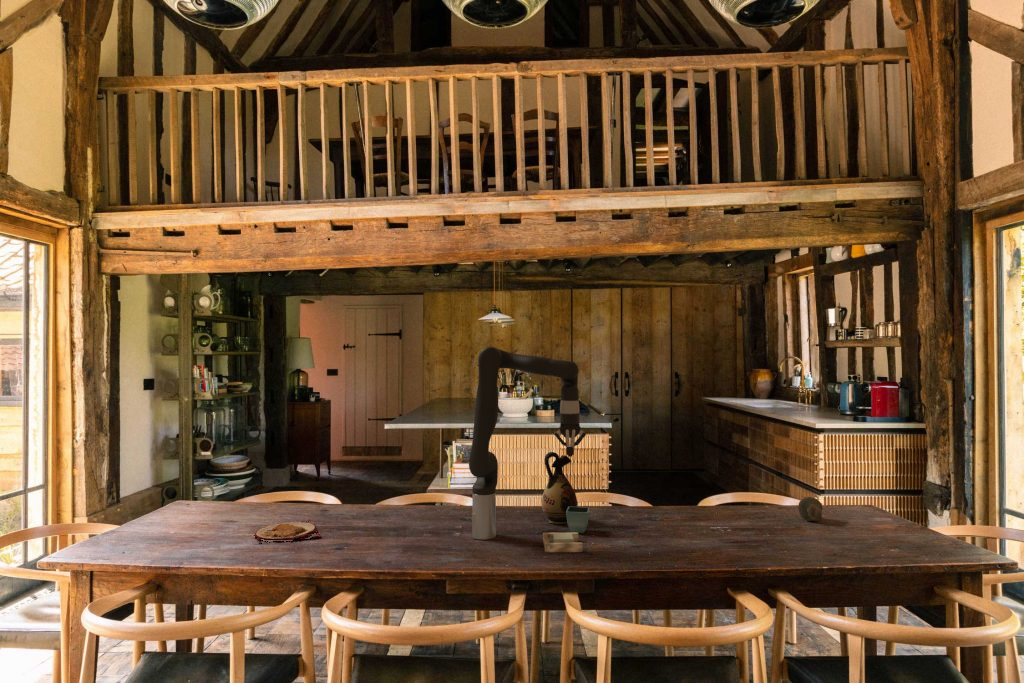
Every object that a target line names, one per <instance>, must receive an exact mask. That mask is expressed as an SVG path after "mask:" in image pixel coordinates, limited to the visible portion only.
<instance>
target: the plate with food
mask: <svg viewBox="0 0 1024 683" xmlns="http://www.w3.org/2000/svg"><path fill="white" fill-rule="evenodd" d="M305 521H306V522H305ZM305 521H303V520H302V521H291V522H289V521H288V522H287V521H286V522H284V523H283V522H280V523H274V524H270V525H268V526H265V527H263V528H259V529H260V530H258V529H257V530H256V531H255V532H256V533H255V535H254V534H252V536H255V537H257V538H255V539H256V541H260V540H259V539H264V540H294V539H297V538H299V539H301V540H304V539H305V538H308V537H310V536H312V535H311V534H314V533H316V534H317V533H318V535H319V536H314V537H313V538H312V539H314V538H320V537H321V536H322V534H321V533H319V530H318V528H317V525H316V524H315V523H308V522H309V521H310V522H311V520H309V519H308V520H305ZM307 521H308V522H307ZM267 530H272V532H269V531H268V532H266V533H264V532H265V531H267ZM316 531H317V532H316ZM299 533H301V534H299ZM297 534H299V535H297ZM272 537H281V538H272ZM285 537H287V538H285Z"/></svg>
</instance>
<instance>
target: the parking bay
mask: <svg viewBox="0 0 1024 683" xmlns="http://www.w3.org/2000/svg"><path fill="white" fill-rule="evenodd" d="M553 533H554V532H543V533H542V543H543V546H544V552H545V553H583V551H584V546H583V544H584V543H583V542H579V539H580V538H579V535H580V534H579V533H578V532H571V531H570V533H571V534H572V536H573V539H574V542H566V543H554V542H553Z"/></svg>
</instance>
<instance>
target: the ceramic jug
mask: <svg viewBox="0 0 1024 683" xmlns="http://www.w3.org/2000/svg"><path fill="white" fill-rule="evenodd" d="M550 458H555V459H554V461H553V462H552V464H551V466H550ZM570 463H572V459H570V457H568V455H567V454H566V455H564V454H562V455H561V456H560V455H559V454H558V453H557V452H553V451H549V452H547V453H546V454H545V456H544V466H545V469H546V472H547V474H548V483H547V484H546V486H545V488H544V491H543V492H542V493H543V494H542V496H541V510H542V512H543V513H544V515H545V516H546V517H547V519H548V522H549V523H550V524H558V525H568V523H567V515H566V511H567V509H568V507H578V498H577V494H576V492H575V489H574V487H573V486H572V484H571V483H570V481H569V479H568V478H567V477H566V475H565V473H564V470H563V468H564V467H565V466H566V465H568V464H570ZM551 468H554V472H552V469H551Z"/></svg>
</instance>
